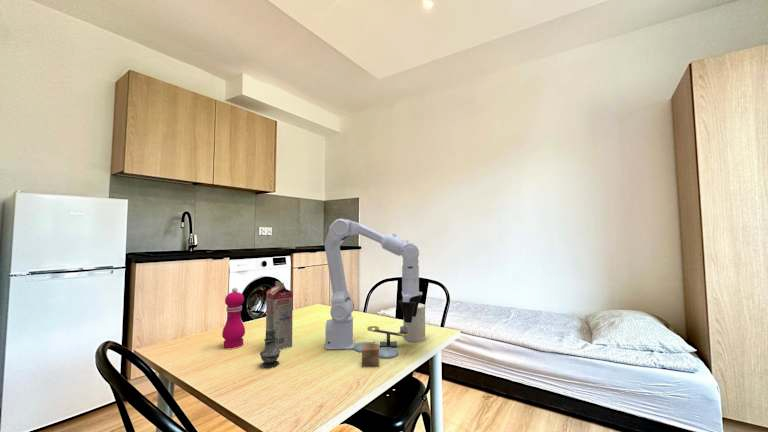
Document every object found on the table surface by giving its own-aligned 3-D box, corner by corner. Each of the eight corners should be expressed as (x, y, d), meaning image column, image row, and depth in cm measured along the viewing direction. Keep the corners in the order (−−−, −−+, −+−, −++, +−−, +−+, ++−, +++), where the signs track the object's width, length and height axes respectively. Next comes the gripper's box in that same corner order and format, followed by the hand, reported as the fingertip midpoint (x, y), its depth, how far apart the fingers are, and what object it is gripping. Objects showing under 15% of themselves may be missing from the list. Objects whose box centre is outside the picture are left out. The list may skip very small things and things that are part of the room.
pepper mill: (216, 347, 107) (218, 288, 108) (234, 340, 113) (235, 285, 114) (232, 350, 104) (234, 290, 105) (249, 343, 111) (250, 286, 112)
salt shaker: (260, 370, 89) (261, 327, 90) (258, 362, 94) (259, 322, 95) (281, 366, 92) (282, 325, 92) (278, 359, 97) (279, 320, 98)
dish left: (353, 352, 102) (353, 350, 102) (354, 344, 110) (354, 342, 110) (376, 352, 102) (376, 350, 102) (376, 344, 110) (376, 341, 110)
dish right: (374, 358, 97) (374, 356, 97) (374, 349, 105) (374, 347, 105) (398, 358, 97) (398, 355, 97) (397, 349, 105) (397, 346, 105)
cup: (418, 343, 111) (418, 309, 111) (399, 338, 115) (399, 305, 116) (429, 337, 117) (428, 304, 118) (410, 332, 122) (410, 301, 122)
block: (361, 367, 91) (361, 349, 92) (362, 360, 96) (362, 343, 97) (378, 367, 91) (378, 349, 92) (378, 360, 96) (378, 343, 97)
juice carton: (273, 351, 103) (274, 284, 104) (265, 345, 108) (266, 282, 109) (292, 346, 108) (292, 282, 109) (284, 341, 113) (284, 280, 114)
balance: (367, 348, 106) (367, 329, 106) (367, 344, 110) (367, 325, 110) (410, 347, 106) (409, 328, 107) (408, 343, 110) (408, 325, 111)
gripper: (418, 282, 99) (418, 326, 98) (425, 276, 113) (425, 314, 112) (396, 281, 101) (396, 324, 100) (406, 275, 115) (406, 313, 114)
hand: (410, 319), depth 106 cm, fingers open, 7 cm apart
